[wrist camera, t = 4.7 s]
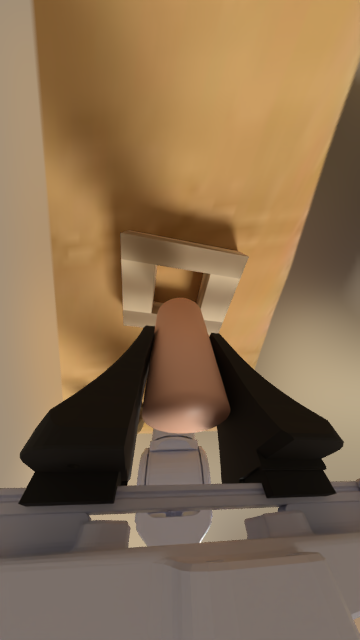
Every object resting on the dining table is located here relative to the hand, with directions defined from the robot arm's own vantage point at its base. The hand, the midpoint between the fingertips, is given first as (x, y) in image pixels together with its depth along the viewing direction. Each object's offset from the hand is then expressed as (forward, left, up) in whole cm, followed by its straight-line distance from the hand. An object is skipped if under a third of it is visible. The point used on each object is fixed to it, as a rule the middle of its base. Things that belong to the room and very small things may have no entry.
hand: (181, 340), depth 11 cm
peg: (0, 0, -3) cm, 3 cm away
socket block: (0, 0, -10) cm, 10 cm away
